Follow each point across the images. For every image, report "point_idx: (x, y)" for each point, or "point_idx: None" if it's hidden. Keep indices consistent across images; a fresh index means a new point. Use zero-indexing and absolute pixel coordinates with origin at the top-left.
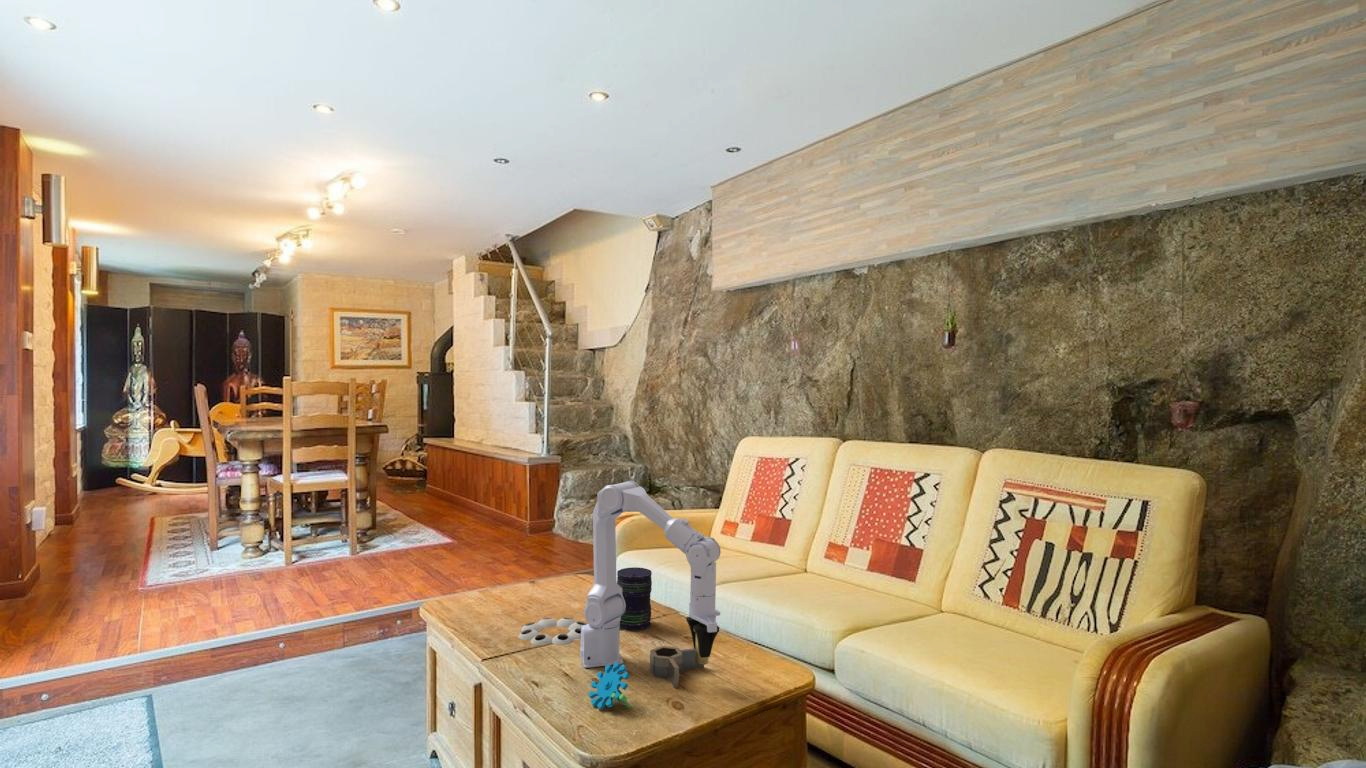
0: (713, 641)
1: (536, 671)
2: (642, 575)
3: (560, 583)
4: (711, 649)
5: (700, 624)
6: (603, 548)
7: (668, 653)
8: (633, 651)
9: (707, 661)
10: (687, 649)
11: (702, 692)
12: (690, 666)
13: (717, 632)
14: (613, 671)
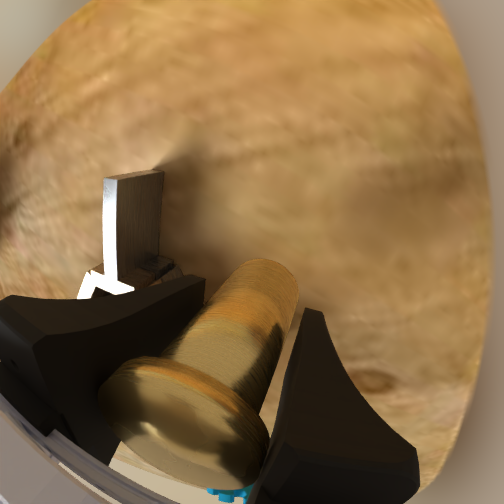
0: (347, 375)
1: (123, 444)
2: None
3: None
4: (326, 330)
5: (117, 418)
6: None
7: (101, 292)
8: (53, 294)
9: (293, 283)
10: (105, 247)
11: (343, 283)
12: (154, 225)
13: (401, 445)
14: (236, 494)
